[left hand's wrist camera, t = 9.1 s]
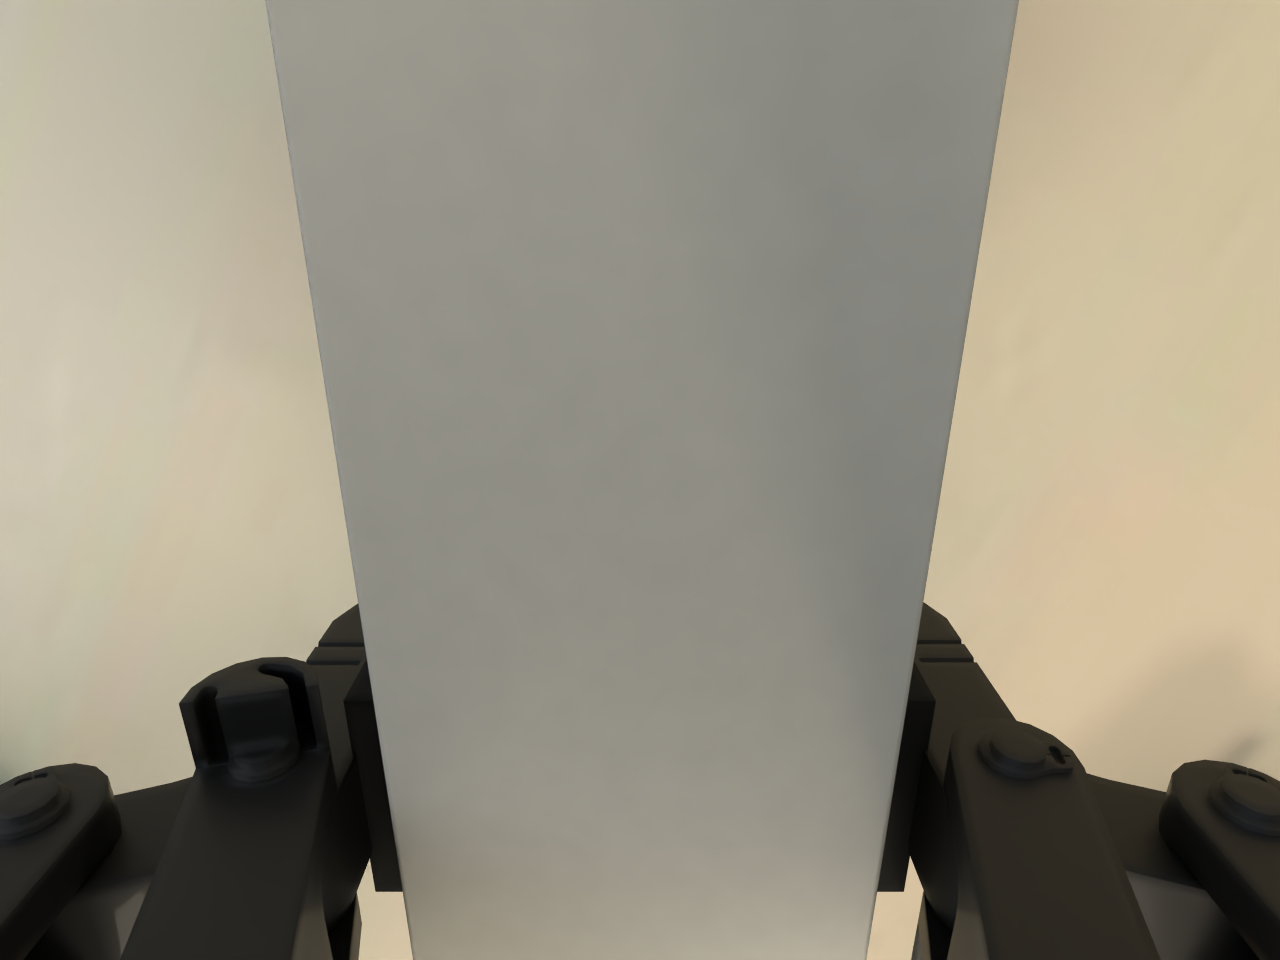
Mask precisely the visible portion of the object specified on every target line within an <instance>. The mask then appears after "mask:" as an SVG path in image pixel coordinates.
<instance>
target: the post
mask: <svg viewBox="0 0 1280 960" xmlns="http://www.w3.org/2000/svg"><path fill="white" fill-rule="evenodd" d="M1018 2H1019V0H266V6H267V13H268V19H269V26H270V32H271V39H272V45H273V52H274V58H275V65H276V71H277V78H278V84H279V91H280V97H281V104H282V110H283V117H284V123H285V130H286V136H287V143H288V149H289V156H290V162H291V169H292V175H293V182H294V188H295V195H296V201H297V208H298V214H299V221H300V227H301V234H302V240H303V247H304V253H305V260H306V266H307V273H308V279H309V286H310V292H311V299H312V305H313V312H314V318H315V324H316V331H317V337H318V344H319V350H320V357H321V363H322V370H323V376H324V383H325V389H326V396H327V402H328V409H329V415H330V422H331V428H332V435H333V441H334V448H335V454H336V461H337V467H338V474H339V480H340V487H341V493H342V500H343V506H344V513H345V519H346V526H347V532H348V539H349V545H350V552H351V558H352V565H353V571H354V578H355V584H356V591H357V597H358V604H359V610H360V617H361V623H362V630H363V636H364V643H365V649H366V656H367V662H368V669H369V675H370V682H371V688H372V695H373V701H374V708H375V714H376V721H377V727H378V734H379V740H380V747H381V753H382V760H383V766H384V773H385V779H386V786H387V792H388V799H389V805H390V812H391V818H392V825H393V831H394V838H395V844H396V851H397V857H398V864H399V870H400V877H401V883H402V890H403V896H404V903H405V909H406V916H407V922H408V928H409V935H410V941H411V948H412V954H413V960H866V958H867V951H868V945H869V939H870V933H871V926H872V920H873V914H874V907H875V901H876V895H877V889H878V882H879V876H880V870H881V863H882V857H883V851H884V845H885V838H886V832H887V826H888V819H889V813H890V807H891V801H892V794H893V788H894V782H895V775H896V769H897V763H898V757H899V750H900V744H901V738H902V731H903V725H904V719H905V713H906V706H907V700H908V694H909V687H910V681H911V675H912V669H913V662H914V656H915V650H916V643H917V637H918V631H919V625H920V618H921V612H922V606H923V599H924V593H925V587H926V581H927V574H928V568H929V562H930V555H931V549H932V543H933V537H934V530H935V524H936V518H937V511H938V505H939V499H940V493H941V486H942V480H943V474H944V467H945V461H946V455H947V449H948V442H949V436H950V430H951V423H952V417H953V411H954V405H955V398H956V392H957V386H958V379H959V373H960V367H961V361H962V354H963V348H964V342H965V335H966V329H967V323H968V317H969V310H970V304H971V298H972V291H973V285H974V279H975V273H976V266H977V260H978V254H979V247H980V241H981V235H982V228H983V222H984V216H985V210H986V203H987V197H988V191H989V184H990V178H991V172H992V166H993V159H994V153H995V147H996V140H997V134H998V128H999V122H1000V115H1001V109H1002V103H1003V96H1004V90H1005V84H1006V78H1007V71H1008V65H1009V59H1010V52H1011V46H1012V40H1013V34H1014V27H1015V21H1016V15H1017V8H1018Z"/></svg>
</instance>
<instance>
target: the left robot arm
mask: <svg viewBox="0 0 1280 960" xmlns="http://www.w3.org/2000/svg"><path fill="white" fill-rule="evenodd" d="M973 659H974V658H973V656H972V655H971V653H970V652H969V650H968V649H967V648H966V646H965V645H964V644H962V643H961V639H960V637H959V636H958V634H957V633H956V631H955V630H954V628H953V627H952V626H951V624H950V623H949V621H948V620H947V618H945V617H944V616H942V615H941V614H940V613H938V612H937V611H935V610H934V609H932V608H931V607H930V606H928V605H927V604H925V603H924V602H923V606H922V612H921V618H920V625H919V631H918V637H917V643H916V650H915V656H914V662H913V669H912V675H911V681H910V687H909V694H908V700H907V706H906V713H905V719H904V725H903V731H902V738H901V744H900V750H899V757H898V763H897V769H896V775H895V782H894V788H893V794H892V801H891V807H890V813H889V819H888V826H887V832H886V838H885V845H884V851H883V857H882V863H881V870H880V876H879V882H878V889H877V892H904V887H905V881H906V876H907V870H908V864H909V858H910V856H911V859H912V861H913V864H914V867H915V869H916V872H917V874H918V877H919V879H920V882H921V884H922V887H923V889H924V892H923V897H922V903H921V908H920V914H919V919H918V925H917V930H916V936H915V941H914V947H913V952H912V958H911V960H1280V781H1278V780H1276V779H1274V778H1272V777H1270V776H1268V775H1266V774H1264V773H1262V772H1259V771H1256V770H1253V769H1251V768H1250V769H1249V768H1246V767H1244V766H1240V765H1237V764H1233V763H1227V762H1219V761H1211V760H1201V761H1195V762H1189V763H1184V764H1183V765H1182V766H1180V767H1179V768H1178V769H1177V770H1176V771H1174V772H1173V773H1172V776H1171V780H1170V783H1169V786H1168V789H1167V792H1162V791H1158V790H1153V789H1149V788H1144V787H1139V786H1135V785H1130V784H1126V783H1121V782H1117V781H1112V780H1108V779H1104V778H1101V777H1097V776H1094V775H1090V774H1087V773H1086V771H1085V769H1084V767H1083V765H1082V764H1081V762H1080V761H1079V759H1078V758H1077V757H1076V755H1075V754H1074V752H1073V751H1072V750H1071V749H1070V748H1068V747H1067V746H1066V745H1065V744H1063V743H1062V742H1061V741H1060V740H1058V739H1057V738H1056V737H1054V736H1053V735H1051V734H1049V733H1047V732H1045V731H1043V730H1040V729H1038V728H1036V727H1034V726H1032V725H1030V724H1026V723H1022V722H1019V721H1016V719H1015V718H1014V716H1013V715H1012V714H1011V712H1010V711H1009V709H1008V708H1007V706H1006V705H1005V703H1004V702H1003V700H1002V699H1001V697H1000V696H999V694H998V693H997V692H996V690H995V689H994V687H993V686H992V684H991V683H990V681H989V680H988V678H987V677H986V675H985V674H984V672H983V671H982V670H981V668H980V667H979V665H978V664H977V662H974V660H973ZM179 706H180V710H181V713H182V717H183V721H184V725H185V729H186V732H187V736H188V740H189V744H190V748H191V751H192V755H193V759H194V763H195V766H196V770H195V773H194V775H193V777H190V778H187V779H183V780H180V781H176V782H173V783H169V784H164V785H160V786H155V787H151V788H146V789H142V790H137V791H133V792H128V793H124V794H119V795H115V796H114V795H113V791H112V788H111V785H110V782H109V779H108V776H107V775H105V774H104V773H103V772H102V771H101V770H99V769H98V768H97V767H95V766H89V765H83V764H77V763H73V764H65V765H57V766H49V767H45V768H42V769H39V770H35V771H33V772H28V773H26V774H23V775H20V776H17V777H15V778H13V779H12V780H10V781H8V782H6V783H4V784H2V785H0V960H358V957H359V947H360V937H361V926H362V922H361V915H360V908H359V903H358V897H357V889H358V887H359V884H360V882H361V879H362V877H363V874H364V871H365V869H366V866H367V864H368V861H369V859H370V861H371V867H372V873H373V879H374V885H375V891H376V892H403V890H402V883H401V877H400V870H399V864H398V857H397V851H396V844H395V838H394V831H393V825H392V818H391V812H390V805H389V799H388V792H387V786H386V779H385V773H384V766H383V760H382V753H381V747H380V740H379V734H378V727H377V721H376V714H375V708H374V701H373V695H372V688H371V682H370V675H369V669H368V662H367V656H366V649H365V643H364V636H363V630H362V623H361V617H360V610H359V604H357V605H355V606H354V607H352V608H351V609H349V610H348V611H347V612H345V613H344V614H342V615H341V616H339V617H338V618H337V619H335V620H334V621H333V622H332V623H331V625H330V626H329V628H328V629H327V631H326V632H325V634H324V635H323V637H322V638H321V640H320V641H319V645H318V647H315V648H314V650H313V651H312V653H311V654H310V656H309V657H308V659H307V660H306V662H304V661H300V660H296V659H292V658H288V657H268V658H259V659H254V660H250V661H245V662H241V663H236V664H234V665H232V666H229V667H227V668H225V669H222V670H220V671H217V672H215V673H213V674H211V675H209V676H208V677H207V678H205V679H204V680H202V681H201V682H199V683H198V684H196V685H195V686H193V687H192V688H191V689H190V690H189V692H188V693H187V694H186V695H185V697H184V698H183V699H182V700H181V702H180V703H179Z"/></svg>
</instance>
